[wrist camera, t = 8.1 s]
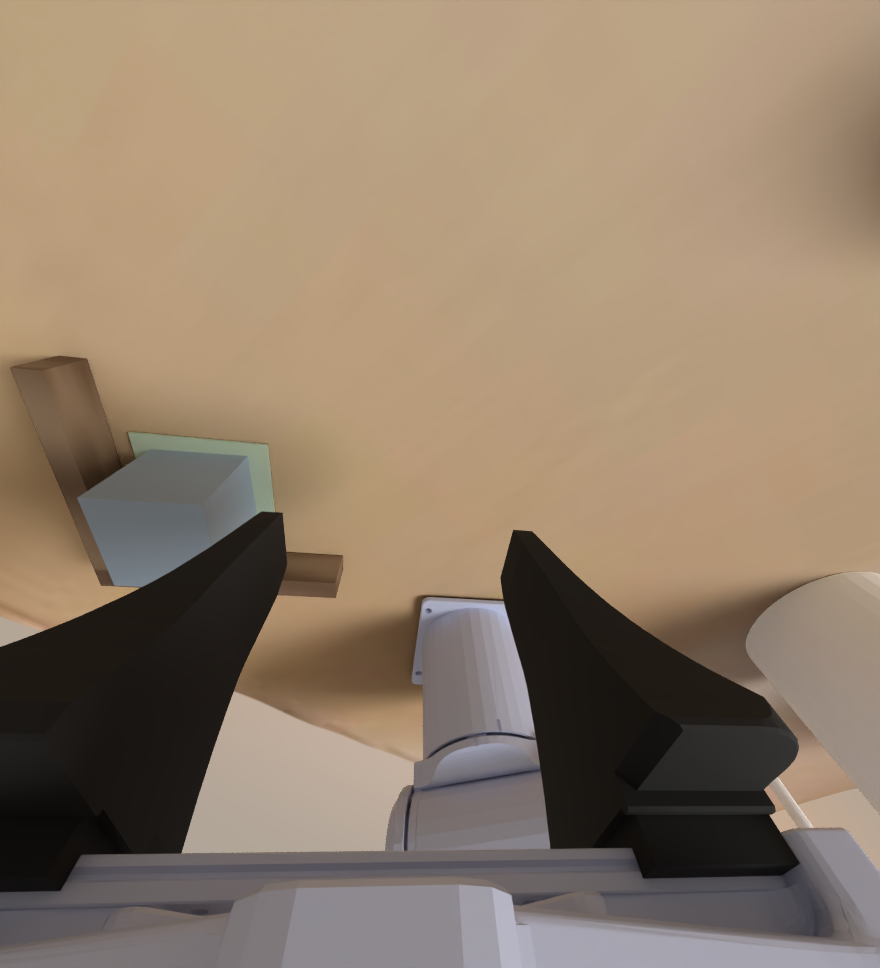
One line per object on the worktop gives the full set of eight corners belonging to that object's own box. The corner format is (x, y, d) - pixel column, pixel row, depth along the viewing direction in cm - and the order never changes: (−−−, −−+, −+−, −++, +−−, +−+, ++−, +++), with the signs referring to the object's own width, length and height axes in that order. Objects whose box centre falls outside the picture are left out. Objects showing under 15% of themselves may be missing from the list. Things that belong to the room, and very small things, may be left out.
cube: (247, 456, 21) (202, 505, 16) (259, 530, 23) (222, 590, 19) (150, 449, 20) (77, 497, 16) (173, 525, 23) (114, 585, 18)
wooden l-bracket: (342, 569, 25) (335, 598, 23) (130, 556, 24) (101, 585, 22) (342, 386, 19) (332, 401, 17) (59, 355, 18) (9, 367, 16)
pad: (278, 545, 24) (277, 547, 24) (161, 537, 23) (159, 539, 23) (267, 443, 21) (266, 445, 20) (129, 431, 20) (127, 432, 20)
